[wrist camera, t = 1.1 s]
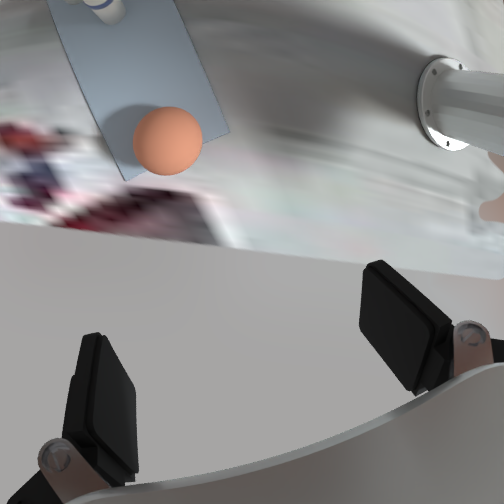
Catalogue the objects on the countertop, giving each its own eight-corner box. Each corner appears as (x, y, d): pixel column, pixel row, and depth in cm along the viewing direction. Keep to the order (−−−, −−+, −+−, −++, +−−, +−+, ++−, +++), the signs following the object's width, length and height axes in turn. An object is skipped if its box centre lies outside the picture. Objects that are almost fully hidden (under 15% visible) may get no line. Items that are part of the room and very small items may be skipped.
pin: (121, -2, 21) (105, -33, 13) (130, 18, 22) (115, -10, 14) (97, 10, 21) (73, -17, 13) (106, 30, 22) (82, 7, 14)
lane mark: (140, -70, 17) (140, -71, 17) (229, 131, 29) (230, 132, 29) (40, -20, 17) (39, -20, 16) (126, 180, 29) (126, 181, 29)
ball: (185, 95, 27) (187, 94, 22) (209, 151, 30) (217, 163, 24) (126, 123, 27) (115, 129, 21) (153, 178, 30) (148, 195, 24)
